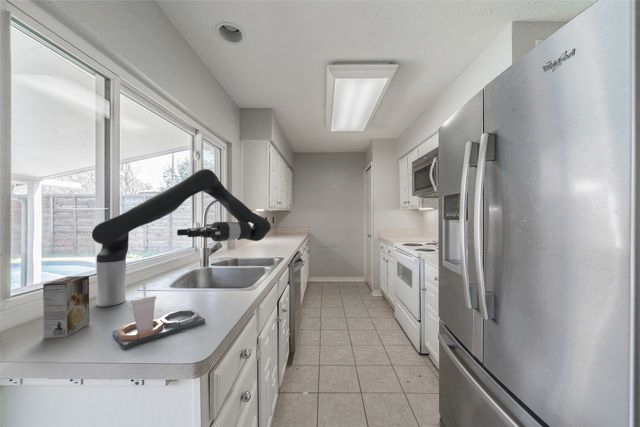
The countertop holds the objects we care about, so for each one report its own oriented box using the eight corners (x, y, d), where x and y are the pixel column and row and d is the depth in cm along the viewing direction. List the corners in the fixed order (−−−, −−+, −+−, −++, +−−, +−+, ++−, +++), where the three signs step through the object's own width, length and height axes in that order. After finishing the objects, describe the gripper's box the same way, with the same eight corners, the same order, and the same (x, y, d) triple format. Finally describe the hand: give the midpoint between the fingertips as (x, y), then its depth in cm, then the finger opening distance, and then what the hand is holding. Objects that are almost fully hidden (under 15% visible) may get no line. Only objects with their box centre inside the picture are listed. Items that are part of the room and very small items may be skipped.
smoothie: (144, 334, 72) (141, 284, 74) (125, 335, 74) (123, 285, 75) (163, 326, 78) (160, 280, 80) (145, 327, 80) (143, 281, 81)
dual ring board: (112, 336, 76) (112, 331, 76) (189, 314, 93) (189, 310, 93) (124, 350, 69) (124, 344, 69) (205, 323, 86) (205, 318, 86)
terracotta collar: (114, 331, 76) (114, 327, 76) (154, 320, 84) (154, 316, 84) (124, 343, 69) (124, 339, 69) (167, 329, 77) (167, 325, 77)
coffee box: (67, 325, 84) (67, 276, 84) (89, 324, 85) (90, 275, 85) (42, 339, 75) (42, 283, 75) (67, 337, 76) (67, 282, 76)
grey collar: (156, 320, 84) (156, 316, 84) (189, 310, 93) (189, 307, 93) (169, 329, 78) (169, 325, 78) (203, 318, 86) (203, 314, 86)
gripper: (216, 221, 106) (174, 221, 94) (235, 222, 97) (191, 223, 85) (216, 239, 106) (174, 242, 94) (235, 242, 97) (191, 245, 85)
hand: (182, 233), depth 89 cm, fingers open, 8 cm apart
